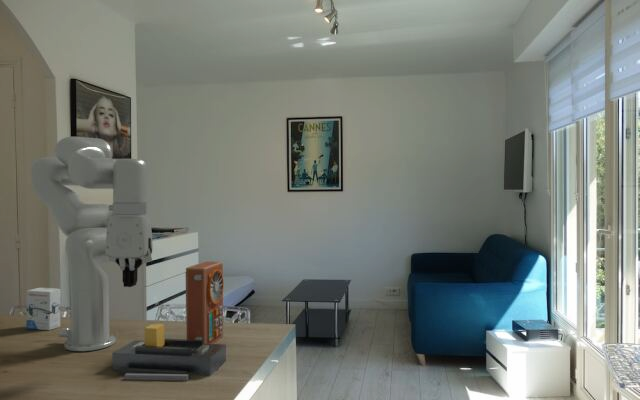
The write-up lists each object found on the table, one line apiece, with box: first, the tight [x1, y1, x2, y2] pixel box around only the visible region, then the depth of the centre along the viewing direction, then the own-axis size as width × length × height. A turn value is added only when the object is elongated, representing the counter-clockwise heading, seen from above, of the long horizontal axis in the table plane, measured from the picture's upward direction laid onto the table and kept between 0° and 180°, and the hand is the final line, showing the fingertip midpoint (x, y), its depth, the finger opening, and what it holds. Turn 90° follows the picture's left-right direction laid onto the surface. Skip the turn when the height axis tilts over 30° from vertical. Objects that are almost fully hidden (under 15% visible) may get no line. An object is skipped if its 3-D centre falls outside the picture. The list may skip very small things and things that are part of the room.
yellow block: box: [144, 323, 165, 347], centre depth 122 cm, size 3×4×5 cm
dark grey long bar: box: [117, 367, 187, 376], centre depth 114 cm, size 16×1×1 cm, turn 81°
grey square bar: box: [124, 373, 189, 382], centre depth 112 cm, size 14×1×1 cm, turn 87°
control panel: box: [184, 260, 224, 344], centre depth 139 cm, size 21×7×15 cm
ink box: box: [25, 287, 62, 331], centre depth 155 cm, size 9×5×12 cm, turn 77°
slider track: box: [112, 337, 227, 376], centre depth 121 cm, size 24×10×5 cm, turn 81°
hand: (130, 285), depth 123 cm, fingers closed
